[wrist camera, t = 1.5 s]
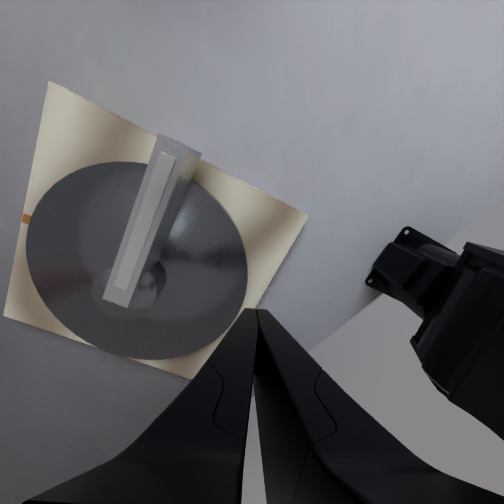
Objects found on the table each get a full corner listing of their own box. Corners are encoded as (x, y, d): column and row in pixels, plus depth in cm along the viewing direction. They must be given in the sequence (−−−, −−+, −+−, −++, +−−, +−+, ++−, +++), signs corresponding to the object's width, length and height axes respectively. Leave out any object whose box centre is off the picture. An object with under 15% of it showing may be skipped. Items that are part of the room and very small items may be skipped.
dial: (201, 372, 24) (189, 427, 19) (21, 310, 21) (-49, 355, 16) (296, 203, 18) (316, 216, 13) (71, 83, 15) (-12, 43, 10)
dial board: (304, 213, 20) (308, 216, 19) (211, 373, 26) (209, 386, 24) (65, 88, 17) (47, 80, 15) (18, 306, 22) (2, 316, 21)
